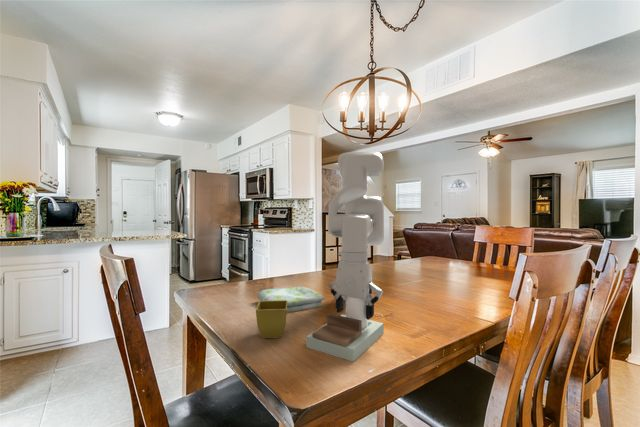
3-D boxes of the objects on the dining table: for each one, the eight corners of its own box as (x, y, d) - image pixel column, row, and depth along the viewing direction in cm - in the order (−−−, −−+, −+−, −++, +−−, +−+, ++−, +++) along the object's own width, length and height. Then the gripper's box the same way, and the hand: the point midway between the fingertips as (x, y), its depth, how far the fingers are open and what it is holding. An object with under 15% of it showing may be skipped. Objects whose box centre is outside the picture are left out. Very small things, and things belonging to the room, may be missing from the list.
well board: (342, 323, 97) (342, 314, 97) (383, 333, 90) (383, 323, 90) (306, 347, 81) (306, 336, 81) (353, 361, 73) (353, 349, 73)
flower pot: (259, 329, 93) (259, 300, 92) (287, 328, 93) (287, 299, 93) (255, 342, 84) (255, 310, 84) (287, 341, 85) (287, 309, 84)
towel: (325, 306, 116) (326, 293, 116) (274, 316, 105) (274, 302, 105) (303, 295, 131) (303, 283, 131) (256, 302, 120) (256, 290, 120)
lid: (329, 325, 87) (329, 313, 87) (361, 333, 82) (361, 320, 81) (312, 337, 79) (312, 323, 79) (345, 346, 74) (345, 331, 74)
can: (367, 340, 85) (367, 297, 85) (344, 338, 86) (344, 296, 86) (368, 331, 91) (368, 291, 91) (347, 329, 93) (347, 290, 93)
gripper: (322, 256, 90) (322, 313, 91) (377, 261, 81) (377, 325, 81) (335, 253, 97) (335, 306, 97) (387, 258, 87) (386, 316, 88)
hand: (354, 314), depth 89 cm, fingers open, 9 cm apart
